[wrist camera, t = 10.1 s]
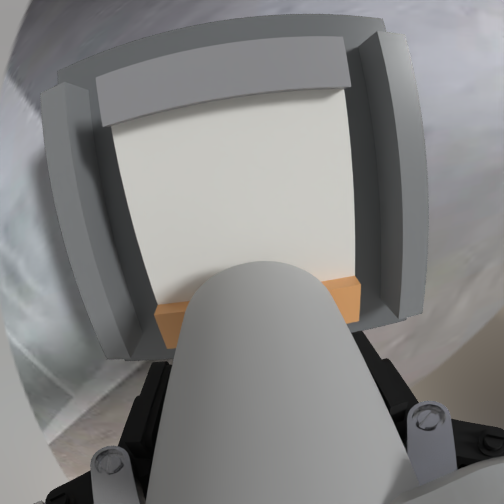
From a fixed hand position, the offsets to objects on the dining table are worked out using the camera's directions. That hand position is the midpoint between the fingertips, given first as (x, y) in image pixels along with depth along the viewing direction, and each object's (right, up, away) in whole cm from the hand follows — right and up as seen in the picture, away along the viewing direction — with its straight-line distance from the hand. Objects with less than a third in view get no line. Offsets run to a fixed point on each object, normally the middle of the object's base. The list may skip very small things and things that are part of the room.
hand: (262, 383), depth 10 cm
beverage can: (0, +2, +3) cm, 3 cm away
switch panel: (-1, +9, +7) cm, 11 cm away
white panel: (-1, +7, +2) cm, 7 cm away
